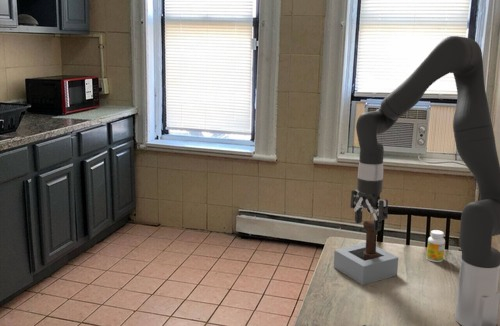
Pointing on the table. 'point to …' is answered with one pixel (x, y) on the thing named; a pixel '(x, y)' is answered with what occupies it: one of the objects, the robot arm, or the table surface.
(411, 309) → the table surface
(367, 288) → the table surface
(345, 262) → the socket block
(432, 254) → the supplement bottle
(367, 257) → the bolt
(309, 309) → the table surface
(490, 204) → the robot arm
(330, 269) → the table surface
